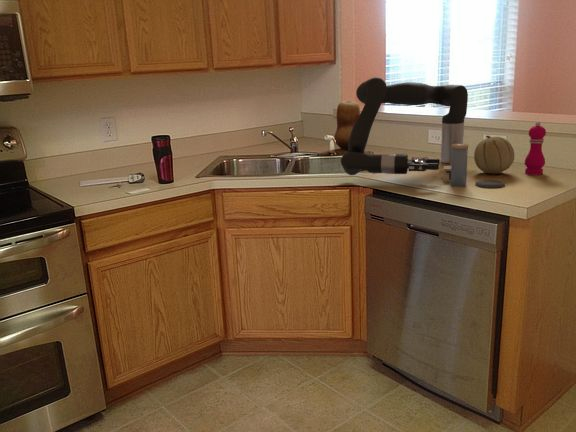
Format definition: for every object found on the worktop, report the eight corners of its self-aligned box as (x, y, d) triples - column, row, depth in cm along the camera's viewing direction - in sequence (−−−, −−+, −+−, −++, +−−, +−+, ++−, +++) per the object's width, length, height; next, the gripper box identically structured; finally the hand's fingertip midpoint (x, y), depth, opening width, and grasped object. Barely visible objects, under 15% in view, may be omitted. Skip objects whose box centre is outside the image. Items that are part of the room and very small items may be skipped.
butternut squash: (354, 152, 274) (353, 102, 267) (330, 150, 280) (329, 102, 273) (364, 147, 285) (364, 99, 278) (341, 146, 292) (340, 100, 285)
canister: (450, 183, 199) (451, 143, 195) (466, 183, 198) (468, 143, 194) (449, 186, 194) (451, 146, 190) (466, 187, 192) (468, 146, 188)
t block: (443, 178, 207) (443, 166, 206) (456, 178, 206) (457, 166, 204) (443, 181, 202) (443, 168, 201) (456, 182, 201) (457, 169, 200)
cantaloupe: (514, 177, 202) (517, 138, 198) (473, 177, 207) (475, 138, 202) (511, 169, 216) (513, 132, 212) (472, 169, 220) (474, 133, 216)
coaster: (475, 181, 200) (475, 180, 199) (503, 182, 197) (503, 180, 197) (475, 187, 191) (475, 186, 190) (505, 188, 188) (506, 186, 187)
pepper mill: (544, 172, 209) (548, 120, 204) (544, 175, 203) (548, 122, 198) (524, 171, 212) (528, 120, 207) (523, 175, 206) (527, 122, 200)
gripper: (392, 157, 193) (438, 157, 188) (396, 150, 206) (440, 150, 201) (392, 177, 195) (438, 178, 190) (396, 169, 208) (439, 170, 203)
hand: (439, 164), depth 196 cm, fingers open, 8 cm apart
